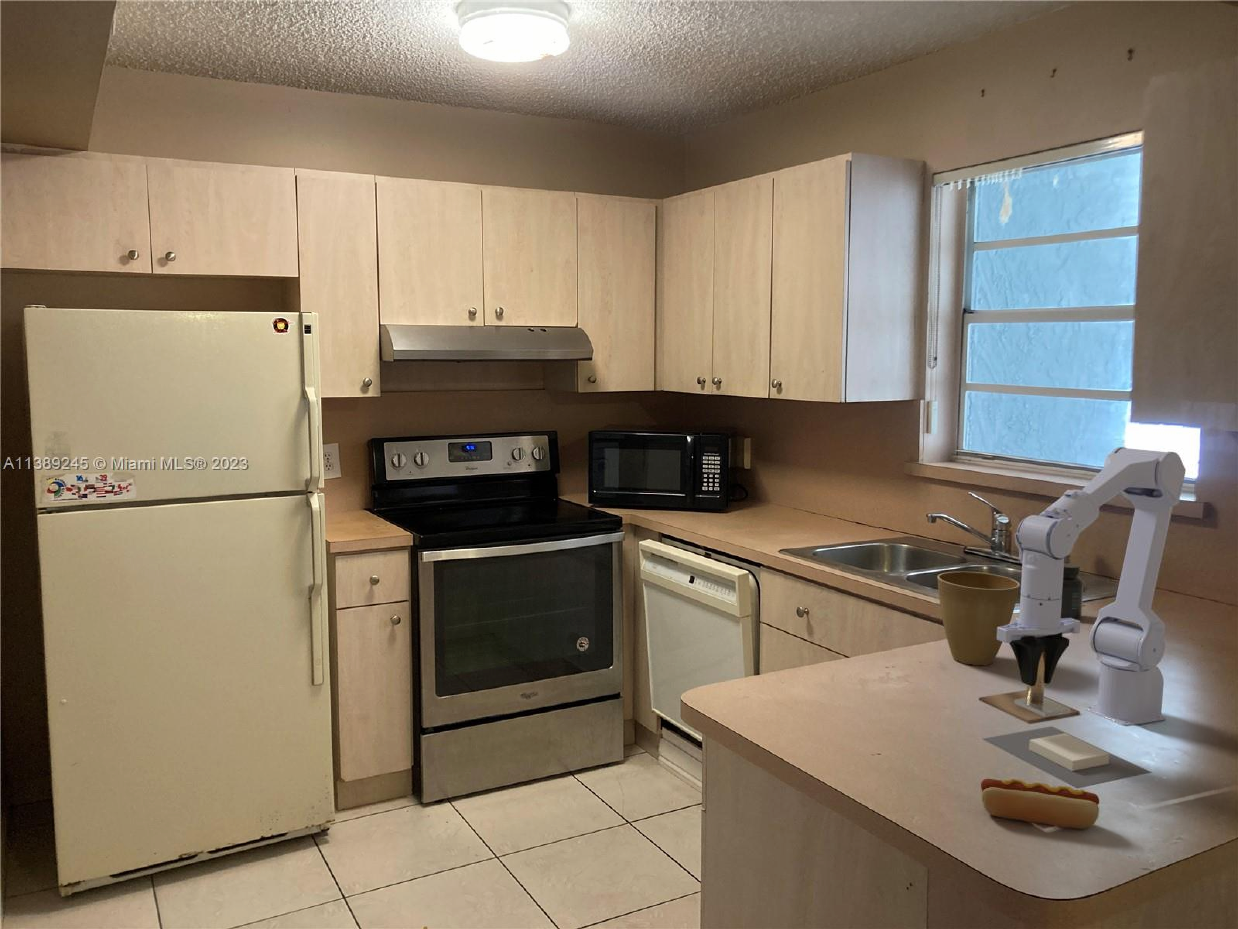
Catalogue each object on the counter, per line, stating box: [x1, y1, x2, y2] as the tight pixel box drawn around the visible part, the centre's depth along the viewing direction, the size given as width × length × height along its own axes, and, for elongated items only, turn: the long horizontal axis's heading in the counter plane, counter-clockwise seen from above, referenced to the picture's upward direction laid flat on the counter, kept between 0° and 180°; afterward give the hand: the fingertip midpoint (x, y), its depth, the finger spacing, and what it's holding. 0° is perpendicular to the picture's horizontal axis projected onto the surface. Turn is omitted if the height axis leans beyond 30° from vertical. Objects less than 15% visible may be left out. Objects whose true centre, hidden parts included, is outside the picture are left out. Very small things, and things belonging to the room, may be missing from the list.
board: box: [978, 689, 1081, 724], centre depth 163 cm, size 11×11×1 cm
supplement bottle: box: [1061, 562, 1084, 621], centre depth 219 cm, size 7×7×12 cm
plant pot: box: [937, 571, 1021, 666], centre depth 188 cm, size 15×15×16 cm
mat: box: [982, 726, 1152, 789], centre depth 143 cm, size 14×18×1 cm
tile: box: [1029, 732, 1110, 771], centre depth 142 cm, size 7×2×8 cm
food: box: [980, 778, 1100, 830], centre depth 124 cm, size 14×6×5 cm, turn 72°
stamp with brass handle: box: [1014, 649, 1071, 717], centre depth 146 cm, size 6×5×9 cm
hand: (1035, 682), depth 148 cm, fingers closed on stamp with brass handle, 2 cm apart
